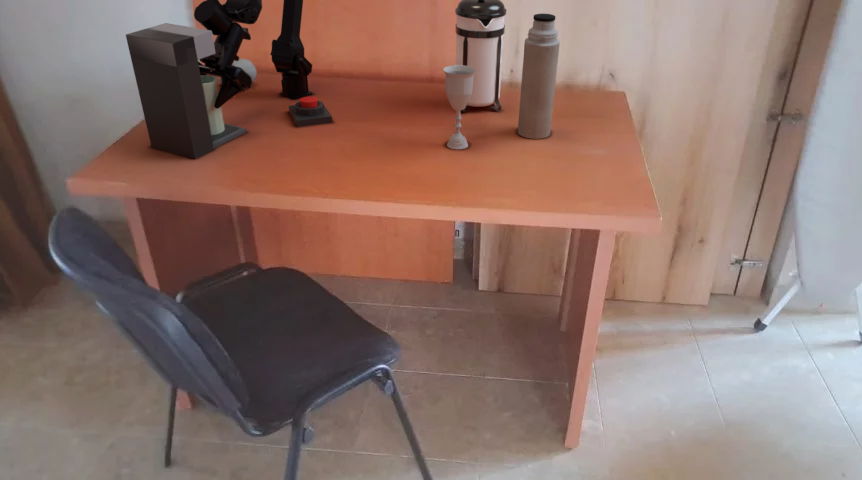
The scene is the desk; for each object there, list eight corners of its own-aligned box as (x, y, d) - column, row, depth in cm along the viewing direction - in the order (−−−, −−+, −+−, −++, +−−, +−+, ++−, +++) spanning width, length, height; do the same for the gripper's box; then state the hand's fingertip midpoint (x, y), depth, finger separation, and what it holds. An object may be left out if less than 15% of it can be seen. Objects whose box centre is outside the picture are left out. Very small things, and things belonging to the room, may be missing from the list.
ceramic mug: (260, 83, 203) (256, 57, 199) (243, 92, 196) (238, 65, 192) (231, 79, 206) (226, 53, 202) (213, 87, 200) (208, 61, 196)
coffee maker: (206, 122, 178) (187, 16, 163) (248, 132, 172) (232, 24, 158) (151, 147, 164) (125, 34, 150) (195, 159, 159) (172, 43, 144)
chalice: (476, 141, 167) (479, 67, 157) (468, 152, 162) (471, 75, 152) (447, 137, 169) (448, 63, 159) (438, 148, 164) (439, 72, 154)
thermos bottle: (523, 124, 176) (532, 9, 161) (554, 129, 174) (566, 13, 158) (513, 135, 170) (522, 17, 155) (544, 141, 168) (556, 20, 152)
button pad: (289, 112, 183) (287, 99, 182) (322, 108, 186) (321, 95, 184) (297, 127, 175) (295, 114, 173) (332, 122, 177) (331, 109, 175)
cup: (225, 124, 173) (217, 74, 166) (223, 134, 168) (215, 83, 161) (197, 125, 172) (188, 75, 166) (194, 136, 167) (184, 85, 160)
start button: (299, 104, 180) (298, 97, 179) (315, 102, 181) (315, 95, 180) (302, 109, 176) (301, 103, 175) (319, 107, 178) (319, 101, 177)
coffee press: (518, 103, 189) (526, -14, 173) (480, 119, 179) (486, -3, 163) (469, 89, 199) (473, -23, 183) (431, 103, 189) (431, -14, 173)
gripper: (175, 22, 164) (149, 81, 162) (236, 32, 156) (209, 94, 154) (205, 47, 174) (181, 104, 172) (263, 58, 166) (239, 117, 164)
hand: (201, 104), depth 165 cm, fingers open, 9 cm apart
